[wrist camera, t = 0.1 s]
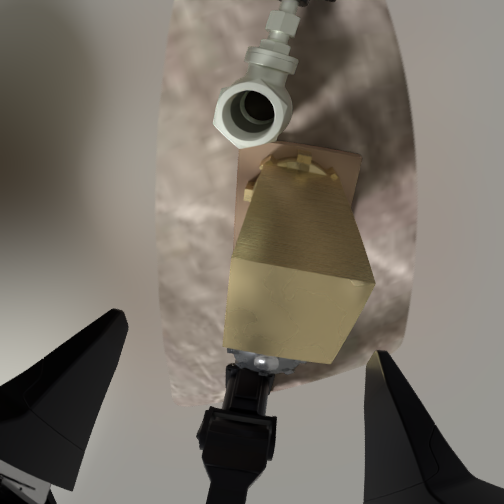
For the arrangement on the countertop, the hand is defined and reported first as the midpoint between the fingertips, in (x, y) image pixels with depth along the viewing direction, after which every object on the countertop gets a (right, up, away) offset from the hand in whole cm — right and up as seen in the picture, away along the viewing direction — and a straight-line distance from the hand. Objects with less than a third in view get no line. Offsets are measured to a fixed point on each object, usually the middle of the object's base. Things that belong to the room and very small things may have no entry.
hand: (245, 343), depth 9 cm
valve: (+2, +16, +7) cm, 18 cm away
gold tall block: (+3, +7, +11) cm, 14 cm away
